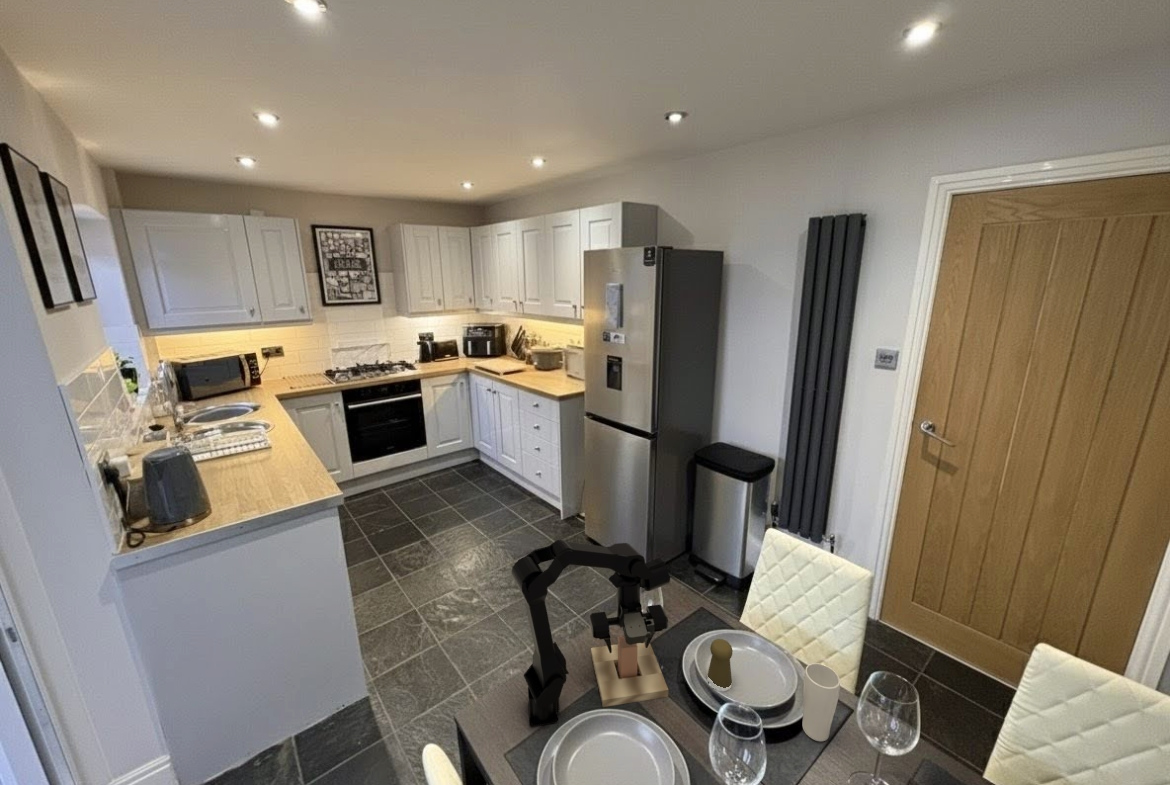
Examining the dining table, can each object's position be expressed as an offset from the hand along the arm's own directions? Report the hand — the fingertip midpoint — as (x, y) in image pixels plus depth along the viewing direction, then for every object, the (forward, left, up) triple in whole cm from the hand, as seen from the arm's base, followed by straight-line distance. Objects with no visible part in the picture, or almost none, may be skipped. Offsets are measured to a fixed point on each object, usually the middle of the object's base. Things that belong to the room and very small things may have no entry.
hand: (628, 649), depth 115 cm
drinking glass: (+37, -22, -8) cm, 44 cm away
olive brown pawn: (+22, -6, -8) cm, 24 cm away
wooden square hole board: (0, 0, -8) cm, 8 cm away
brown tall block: (0, 0, -8) cm, 8 cm away
